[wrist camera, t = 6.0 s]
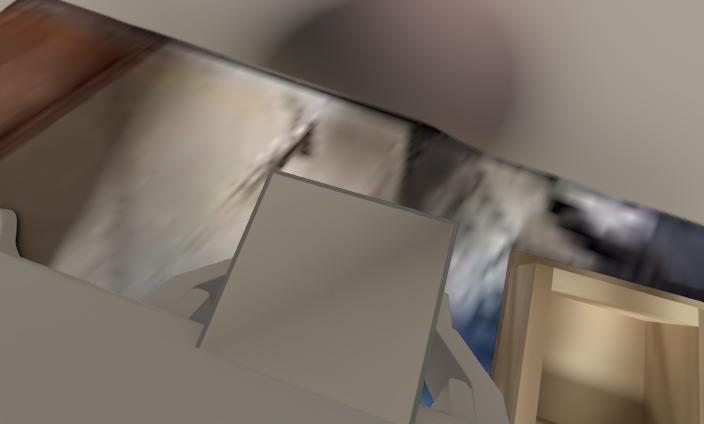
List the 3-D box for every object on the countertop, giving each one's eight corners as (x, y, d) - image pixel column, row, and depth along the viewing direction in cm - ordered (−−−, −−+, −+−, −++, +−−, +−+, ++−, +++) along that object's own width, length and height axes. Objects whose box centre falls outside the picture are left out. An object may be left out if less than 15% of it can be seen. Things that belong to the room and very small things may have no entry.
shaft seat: (477, 430, 18) (543, 518, 11) (506, 252, 21) (573, 232, 14) (752, 534, 16) (1056, 727, 9) (741, 317, 19) (960, 332, 12)
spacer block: (304, 316, 17) (185, 368, 6) (328, 245, 18) (271, 168, 7) (375, 341, 17) (407, 455, 5) (396, 266, 18) (459, 222, 6)
